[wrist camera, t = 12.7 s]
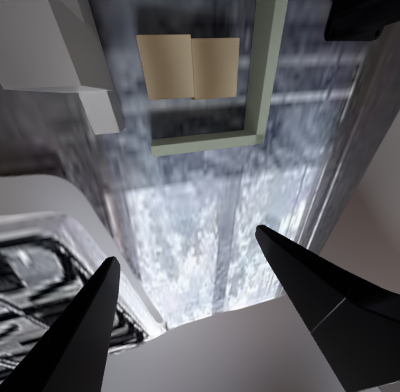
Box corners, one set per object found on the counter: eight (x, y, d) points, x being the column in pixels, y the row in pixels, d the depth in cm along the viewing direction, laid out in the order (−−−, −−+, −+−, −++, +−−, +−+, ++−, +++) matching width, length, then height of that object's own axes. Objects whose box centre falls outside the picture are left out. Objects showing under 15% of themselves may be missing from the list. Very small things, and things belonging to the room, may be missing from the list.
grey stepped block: (93, -9, 11) (-40, -225, 4) (130, 126, 16) (106, 151, 9) (46, -11, 11) (-217, -264, 3) (100, 129, 16) (46, 158, 8)
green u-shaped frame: (273, -53, 12) (303, -93, 9) (250, 137, 19) (263, 143, 17) (106, -70, 10) (88, -126, 7) (153, 148, 18) (153, 156, 15)
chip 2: (228, 46, 14) (239, 37, 12) (226, 96, 17) (236, 96, 15) (186, 47, 14) (191, 38, 12) (190, 99, 16) (195, 99, 14)
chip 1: (185, 43, 14) (190, 34, 12) (190, 97, 16) (194, 97, 14) (139, 44, 13) (136, 34, 11) (150, 99, 15) (149, 100, 13)
